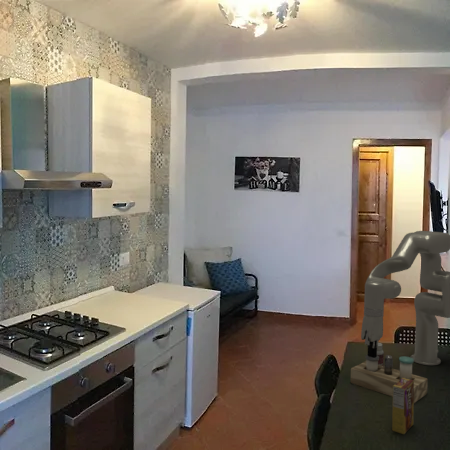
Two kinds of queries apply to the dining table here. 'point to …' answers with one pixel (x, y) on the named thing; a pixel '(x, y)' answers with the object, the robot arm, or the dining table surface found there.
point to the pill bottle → (380, 354)
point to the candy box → (403, 405)
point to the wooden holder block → (385, 380)
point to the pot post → (388, 365)
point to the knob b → (406, 367)
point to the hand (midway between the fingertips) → (372, 356)
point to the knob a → (372, 363)
